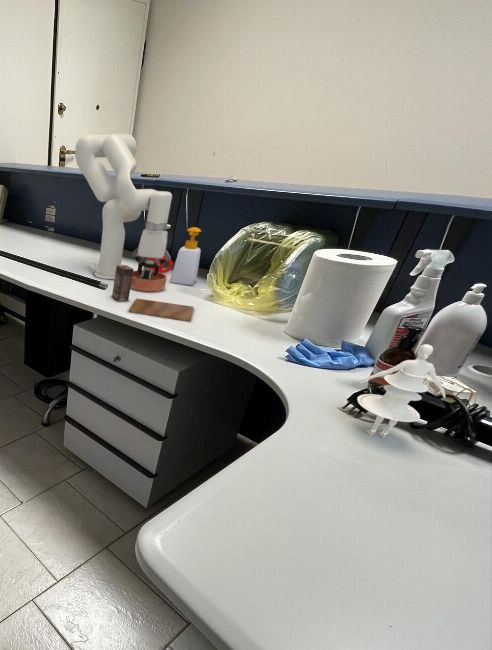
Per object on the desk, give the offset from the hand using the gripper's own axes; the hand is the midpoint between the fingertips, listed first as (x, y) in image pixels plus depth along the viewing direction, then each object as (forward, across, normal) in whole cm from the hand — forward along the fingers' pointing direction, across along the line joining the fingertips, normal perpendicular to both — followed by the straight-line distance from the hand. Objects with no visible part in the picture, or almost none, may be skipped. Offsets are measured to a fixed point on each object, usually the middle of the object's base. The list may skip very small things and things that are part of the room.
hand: (147, 273), depth 165 cm
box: (+6, +6, +20) cm, 22 cm away
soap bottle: (+6, -13, -13) cm, 19 cm away
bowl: (+5, 0, 0) cm, 5 cm away
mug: (+6, -1, -26) cm, 27 cm away
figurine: (+5, -60, +81) cm, 101 cm away
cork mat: (+5, -10, +26) cm, 29 cm away
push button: (+5, 0, 0) cm, 5 cm away
